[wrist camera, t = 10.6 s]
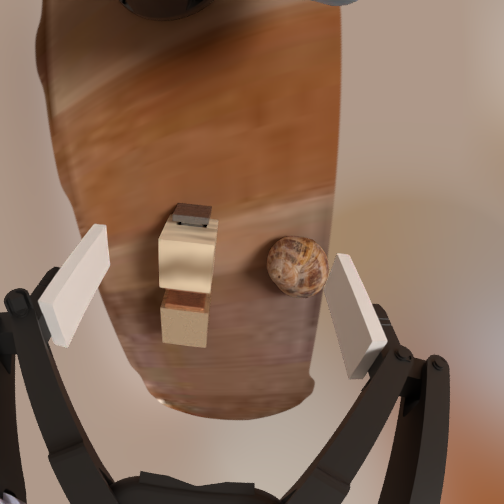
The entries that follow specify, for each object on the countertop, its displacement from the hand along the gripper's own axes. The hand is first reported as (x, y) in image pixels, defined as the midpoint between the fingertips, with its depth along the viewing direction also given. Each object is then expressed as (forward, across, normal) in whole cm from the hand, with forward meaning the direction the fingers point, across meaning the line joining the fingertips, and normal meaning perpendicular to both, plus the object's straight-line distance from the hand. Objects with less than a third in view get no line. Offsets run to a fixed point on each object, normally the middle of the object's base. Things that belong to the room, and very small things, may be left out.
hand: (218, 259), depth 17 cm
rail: (+27, -4, -22) cm, 35 cm away
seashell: (+28, +12, -17) cm, 35 cm away
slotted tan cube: (+28, -4, -16) cm, 32 cm away
